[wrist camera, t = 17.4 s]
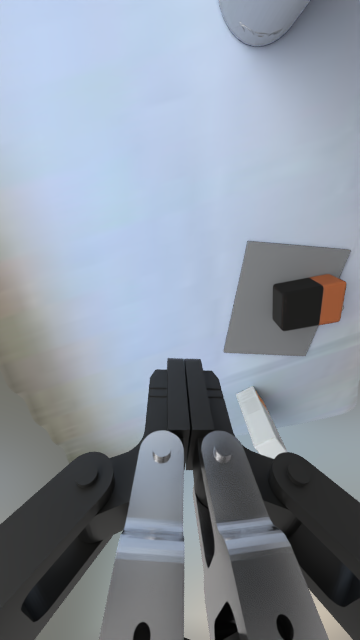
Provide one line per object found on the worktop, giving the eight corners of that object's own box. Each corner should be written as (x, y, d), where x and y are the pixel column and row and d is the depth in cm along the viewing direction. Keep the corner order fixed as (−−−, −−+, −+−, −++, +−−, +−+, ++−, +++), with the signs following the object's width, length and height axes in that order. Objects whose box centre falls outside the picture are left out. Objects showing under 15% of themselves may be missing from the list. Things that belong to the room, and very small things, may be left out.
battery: (282, 333, 36) (346, 321, 35) (283, 293, 33) (354, 280, 32) (271, 319, 40) (329, 309, 39) (271, 283, 36) (335, 271, 36)
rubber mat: (247, 240, 34) (248, 241, 33) (348, 249, 35) (351, 250, 34) (223, 350, 43) (224, 352, 43) (303, 354, 44) (305, 356, 44)
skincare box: (264, 401, 50) (289, 455, 40) (246, 409, 51) (267, 464, 41) (252, 384, 48) (276, 438, 37) (234, 393, 48) (253, 447, 38)
